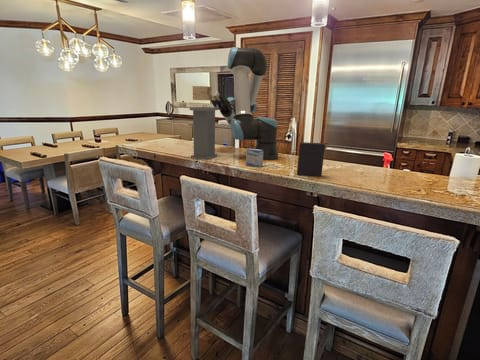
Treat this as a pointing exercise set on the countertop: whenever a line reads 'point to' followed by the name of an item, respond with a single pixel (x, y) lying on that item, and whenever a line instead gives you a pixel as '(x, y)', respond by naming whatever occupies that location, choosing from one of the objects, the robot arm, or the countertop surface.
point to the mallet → (203, 93)
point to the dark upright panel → (310, 159)
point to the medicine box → (254, 157)
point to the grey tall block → (204, 132)
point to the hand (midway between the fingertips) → (213, 92)
